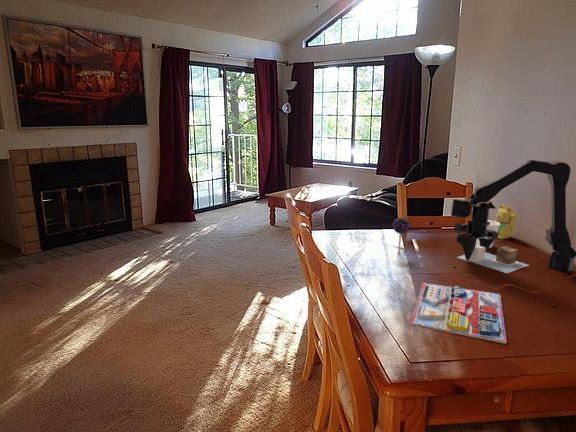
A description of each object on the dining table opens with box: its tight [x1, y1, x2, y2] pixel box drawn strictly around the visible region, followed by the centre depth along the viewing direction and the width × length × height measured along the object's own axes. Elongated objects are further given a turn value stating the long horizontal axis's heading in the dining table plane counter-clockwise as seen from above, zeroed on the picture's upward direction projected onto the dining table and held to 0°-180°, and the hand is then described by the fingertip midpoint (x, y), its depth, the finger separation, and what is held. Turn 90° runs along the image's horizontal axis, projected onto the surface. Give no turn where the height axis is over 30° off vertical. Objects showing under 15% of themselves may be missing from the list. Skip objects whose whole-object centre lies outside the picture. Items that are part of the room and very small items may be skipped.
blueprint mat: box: [456, 251, 530, 274], centre depth 158 cm, size 20×16×1 cm
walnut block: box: [495, 245, 518, 265], centre depth 157 cm, size 5×5×5 cm
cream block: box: [465, 244, 486, 262], centre depth 160 cm, size 5×5×5 cm
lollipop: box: [391, 217, 411, 255], centre depth 165 cm, size 7×7×15 cm
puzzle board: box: [409, 282, 508, 345], centre depth 118 cm, size 30×23×3 cm
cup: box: [475, 219, 500, 249], centre depth 176 cm, size 10×10×11 cm
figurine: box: [495, 203, 518, 240], centre depth 192 cm, size 11×9×15 cm
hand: (474, 257), depth 160 cm, fingers open, 9 cm apart
